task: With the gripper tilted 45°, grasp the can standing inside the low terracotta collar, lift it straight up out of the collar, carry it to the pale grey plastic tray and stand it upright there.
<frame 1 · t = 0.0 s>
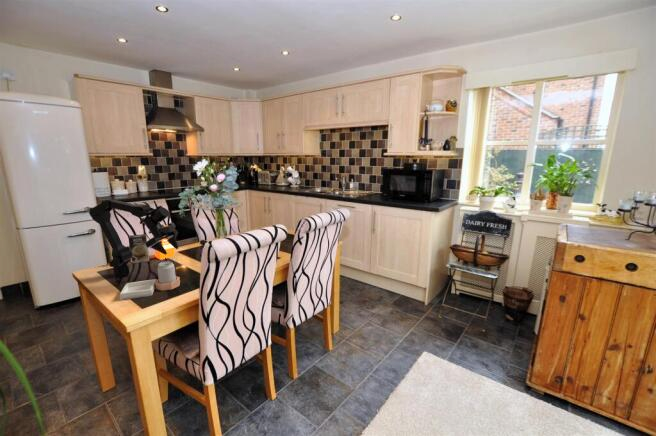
hand: (172, 251, 158), 15 cm above the table, tool tilted 35°, fingers open, 9 cm apart
tray: (139, 292, 146), on the table
can: (168, 286, 153), resting in collar
collar: (168, 285, 153), on the table
orange juice: (165, 256, 195), on the table
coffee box: (141, 261, 188), on the table
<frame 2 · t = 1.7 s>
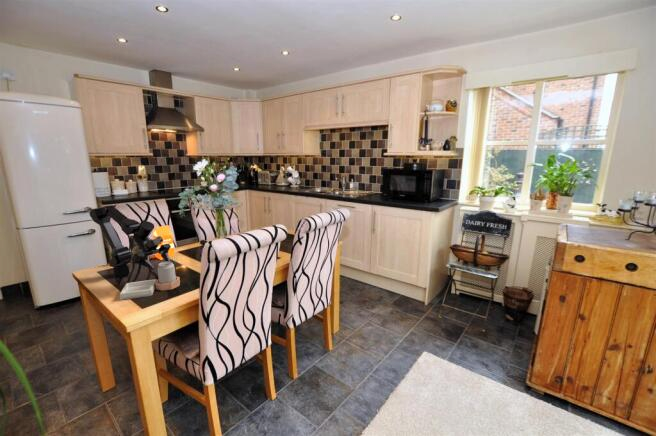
hand: (161, 265, 152), 10 cm above the table, tool tilted 45°, fingers open, 9 cm apart
nothing on the table moved.
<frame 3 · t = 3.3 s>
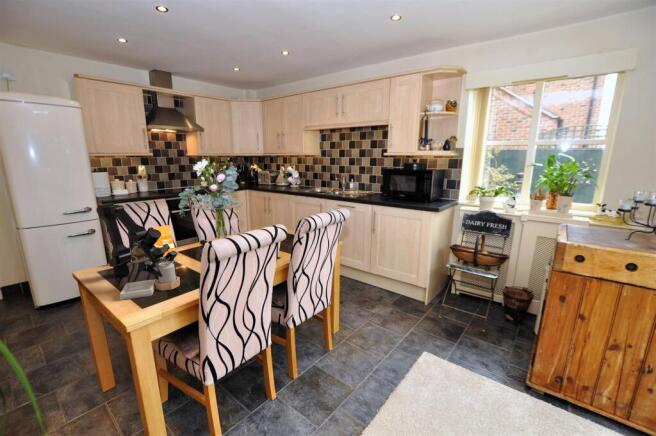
hand: (168, 273, 151), 7 cm above the table, tool tilted 45°, fingers closed on can, 7 cm apart
can: (168, 286, 153), resting in collar, touching gripper
everything else where it was.
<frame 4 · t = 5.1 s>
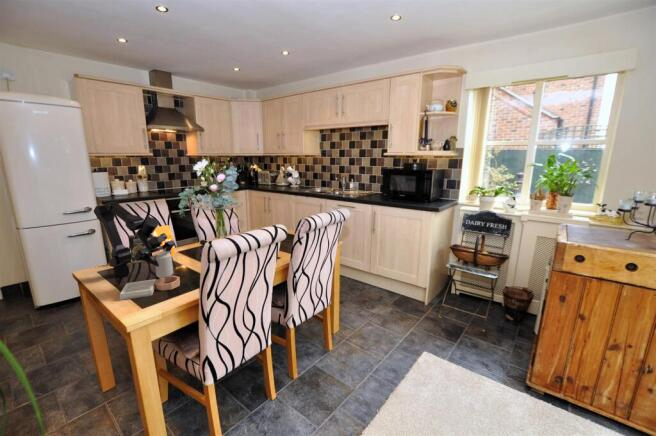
hand: (165, 263, 149), 12 cm above the table, tool tilted 45°, fingers closed on can, 7 cm apart
can: (165, 275, 151), point 5 cm above the table, touching gripper
everything else where it was.
when the fingers open (9 cm above the table, at t = 7.1 s): can drops 1 cm, resting on tray.
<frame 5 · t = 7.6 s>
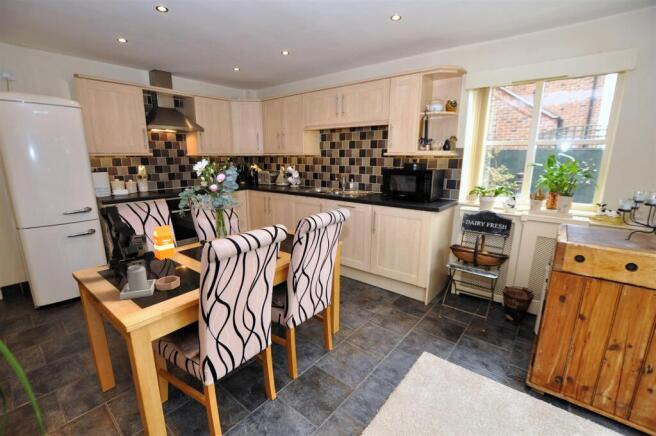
hand: (137, 275, 143), 9 cm above the table, tool tilted 45°, fingers open, 9 cm apart
can: (139, 290, 146), point 1 cm above the table, touching tray
everything else where it was.
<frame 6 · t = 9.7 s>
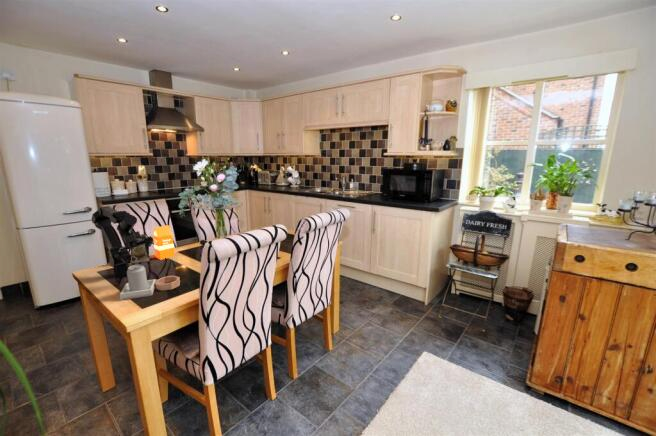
hand: (138, 261, 150), 13 cm above the table, tool tilted 35°, fingers open, 9 cm apart
nothing on the table moved.
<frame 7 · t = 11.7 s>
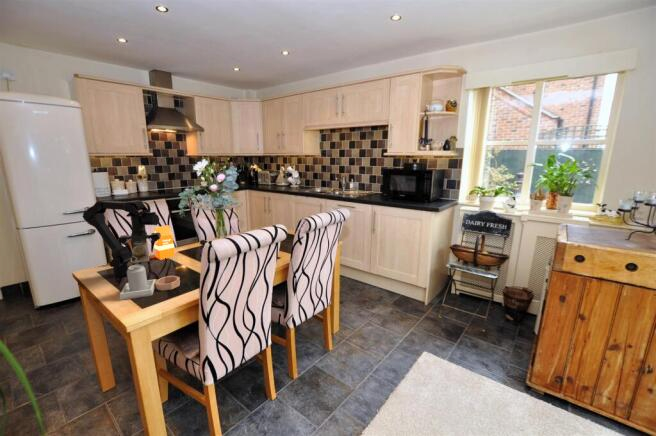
hand: (142, 253, 162), 13 cm above the table, tool pointing down, fingers open, 9 cm apart
nothing on the table moved.
at the end: can 0.2 cm off-centre on the tray, point 0.8 cm above the tray's base; can tilted 0°; the gripper is holding nothing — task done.
